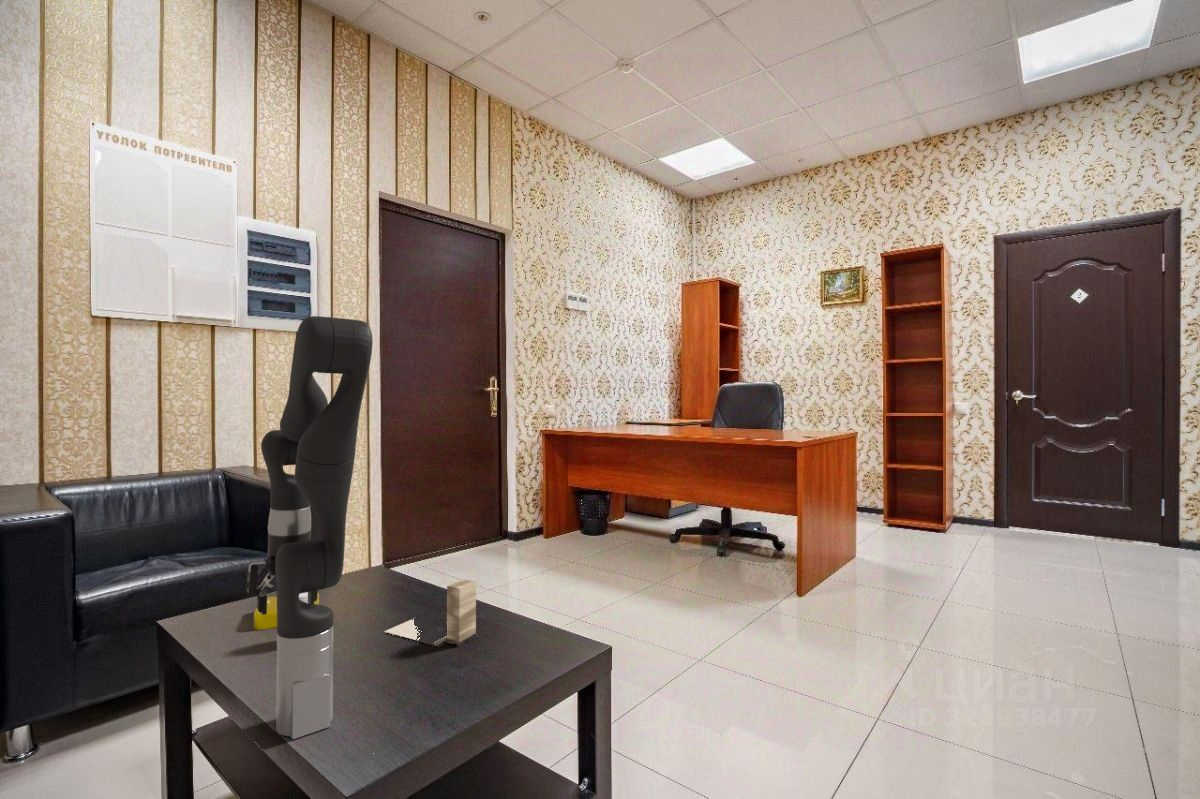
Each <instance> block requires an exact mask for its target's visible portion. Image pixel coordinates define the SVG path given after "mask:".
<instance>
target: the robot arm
mask: <svg viewBox="0 0 1200 799" xmlns="http://www.w3.org/2000/svg"><path fill="white" fill-rule="evenodd" d="M293 345H294V346H293V352H292V361H291V366H290V367H291V370H290V375H289V376H290V377H289V390H288V397H287V400H286V403H285V407H284V410H283V412H282V415H281V418H280V421H279V428H280V429H274V430H270V431H268V432H266V433H265V435H264V436H263V437H262V441H261V444H260V449H261V453H262V457H263V460H264V463H265V465H266V469H267V470H266V471H267V473H268V478H269V484H270V509H269V515H268V525H267V557H266V560H265V561H260V562H255V561H252V560H251V561H250V562H249V563H248V566H247V567H248V569H247V577H246V585H245V586H246V588H245V590H246V592H247V594H248V595H249V596H250V597H252V596H256V607H257V609H258V611H259V613H260V612H261V614H262V615H265V614H267V597H268V596H267V594H268V593H269V591H270V590H271V589H272V588H273V587H275V586H276V587H275V588H276V596H277V628H276V683H275V685H276V689H275V690H276V696H275V697H276V699H275V700H276V701H275V702H276V703H275V705H276V706H275V707H276V708H275V710H276V712H275V715H276V716H275V717H276V718H275V720H276V721H275V723H276V724H275V726H276V727H275V730H276V732H277V733H278V734H279V735H281V736H283V735H284V736H283V737H289V736H290V738H291V740H295V739H298V738H301V737H303V736H307V735H310V734H313V733H315V732H319V731H322V730H324V729H327V728H328V729H329V728H330V727H331V722H332V720H333V716H334V713H333V712H334V708H333V705H334V701H333V700H334V621H335V620H334V612H333V610H332V608H331V607H329V606H327V605H322V604H319V605H318V604H314V601H316V600H317V592H318V591H320V590H324V589H329V588H333V587H334V586H336V585H337V584H339V582H340V580H341V578H342V576H343V570H344V561H345V546H346V545H345V544H346V543H345V540H346V522H347V512H348V503H349V497H350V492H351V491H350V490H351V485H352V478H353V473H354V466H355V457H356V448H357V439H358V427H359V419H360V414H361V406H362V403H363V402H362V401H363V398H364V393H365V388H366V384H367V379H368V376H369V375H368V374H369V370H370V366H371V360H372V353H373V345H374V344H373V333H372V329H371V327H370V326H369V324H368V323H367V322H365V321H363V320H360V319H359V320H358V319H352V318H351V319H350V318H341V317H333V316H332V317H330V316H318V315H314V316H307V317H305V318H303V320H302V321H301V323H300V324H299V326H298V328H297V331H296V334H295V340H294V344H293ZM314 373H318V374H319V373H320V374H338V375H339V374H341V377H340V381H339V383H338V385H337V389H336V391H335V392H334V395H333V396H332V398H331V400H330V401H329V402H328V398H327V396H326V394H325V392H324V390H323V389H322V387H321V386H320V385H319V383H318V382H317V380H316V378H315V377H314ZM285 466H295V468H294V474H290V473H286V472H285V470H284V467H285ZM311 507H312V509H313V510H314V512H315V513H316V515H317V517H318V518H319V520H320V522H321V525H322V530H323V531H322V536H321V538H315V539H312V538H311V537H312V511H311ZM263 569H266V570H267V571H268V573H267V574H266V576H265V577H264V578H263V580H262V582H261V584H260V585H259V586H257V583H258V575H260V574H261V573H262V571H263ZM306 592H308V603H306V602H303V601H300V600H299V594H301V593H306ZM318 593H319V592H318Z"/></svg>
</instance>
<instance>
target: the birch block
mask: <svg viewBox="0 0 1200 799" xmlns="http://www.w3.org/2000/svg"><path fill="white" fill-rule="evenodd" d="M446 623H447V641H452V642H456V643H460V642H462V641H463V640H465V639H467V638H469V637H471V636H472V635H474V634H476V635H477V581H476V580H475V581H474V580H469V579H461V580H458V581H456V582H454V583H452V584H451V583H450V584H449V585H447V586H446Z"/></svg>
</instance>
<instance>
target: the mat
mask: <svg viewBox="0 0 1200 799" xmlns="http://www.w3.org/2000/svg"><path fill="white" fill-rule="evenodd" d="M412 619H413V620H412ZM412 619H409V620H407V621H405V622H402V623H400V624H398V625H396V626H393V627H391V628H389V629H386V630H384V631H383V632H385V633H384V634H386V633H389V634H388V635H390V634H392V635H391V636H394V635H397V636H400V637H399V638H401V637H405V638H409V639H413V640H416V639H417V636H418V635H420V633H419V632H418V631H420V630H418V631H417V629H418V627H417V626H415V625H414V618H412ZM416 627H417V629H415V628H416ZM421 632H422V631H421ZM417 633H419V634H418V635H417ZM397 636H396V637H397ZM419 639H420V637H419V638H418V639H417V641H418V640H419ZM445 640H447V636H445V637H443V638H441V639H439V640H437V641H435V642H434V645H438V644H440V643H442V642H443V641H445Z"/></svg>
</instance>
